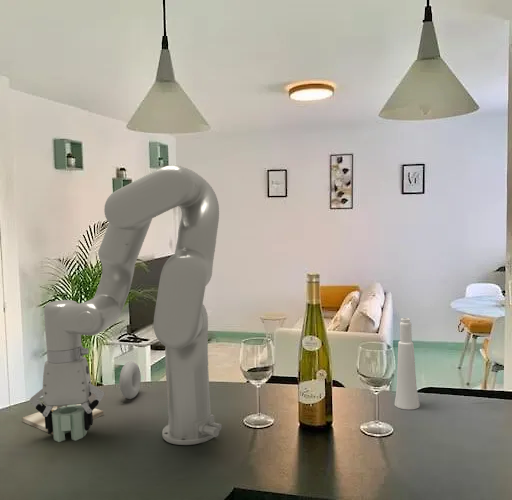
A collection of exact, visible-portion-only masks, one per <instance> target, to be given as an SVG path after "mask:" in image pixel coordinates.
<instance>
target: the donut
mask: <svg viewBox="0 0 512 500" xmlns="http://www.w3.org/2000/svg"><path fill="white" fill-rule="evenodd" d="M141 382H142V376H141V370H140V366H139V365H138V364H137V363H136V362H134V361H128V362H125V364H124V365H122V368H121V370H120V374H119V391H120V393H121V395H122V397H124V398H125V399H128V400H130V399H134V398H135V397H136V396H137V395H138V393H139V391H140V388H141Z"/></svg>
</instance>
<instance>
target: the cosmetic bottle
mask: <svg viewBox="0 0 512 500" xmlns="http://www.w3.org/2000/svg"><path fill="white" fill-rule="evenodd" d="M412 335H413V334H412V322H411V319H410V318H409V317H402V318H400V322H399V340H398V342H397V343H398V344H397V345H398V346H397V373H396V374H397V375H396V377H397V378H396V390H395V391H396V392H395V399H394V406H395V407H396V408H397V409H401V410H405V411H406V410H407V411H408V410H409V411H411V410H416V409H419V408H420V399H419V395H418V394H419V393H418V387H417V375H416V361H415V360H416V359H415V348H414V342H413V341H412V338H413V337H412Z"/></svg>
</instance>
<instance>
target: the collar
mask: <svg viewBox="0 0 512 500" xmlns="http://www.w3.org/2000/svg"><path fill="white" fill-rule="evenodd" d="M84 414H85V409H84V408H83V407H82V405H67V407H66V406H62V407H59V408H57V409H56V410H54V411H53V412H52V423H53V434H52V435H53V440H54V441H55V442H58V443H60V442H64V441H66V436H65V435H66V434H68V433H70V436H71V440H72V441H75V442H76V441H78V440H80V439H83V438H84V437H86V435H87V433H88V431H86V430H85V422H84Z"/></svg>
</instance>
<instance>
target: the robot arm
mask: <svg viewBox="0 0 512 500" xmlns="http://www.w3.org/2000/svg"><path fill="white" fill-rule="evenodd" d="M177 207H179V209H180V210H181V218H180V222H179V225H178V233H177V240H176V246H175V250H174V253H173V254H172V255H171V256H170V257H169V258H168V259H167V260H166V261H165V263H164V264H163V265H162V266H163V267H162V269H161V273H160V276H159V281H158V289H157V294H156V302H155V308H154V316H153V325H152V326H153V333H154V334H155V337H156V339H157V340H158V341H159V343H161V345H163V346H164V347H165V348H164V349H165V351H164V354H165V355H164V356H165V357H164V358H165V379H166V380H165V381H166V397H167V398H166V399H167V417H168V424H166V425H165V426H164V427H163V429H162V432H161V433H162V434H161V435H162V439H163V440H164V441H165V442H167V443H169V444H173V445H180V446H192V445H197V444H202V443H205V442H208V441H210V440H212V439H214V438H217V437H218V436H219V434H220V431H221V430H222V429H223V425H222V424H221V423H218V422H217V423H216V422H215V415H214V414H212V413H211V399H210V397H211V396H210V379H209V350H208V348H209V346H208V339H209V337H208V335H209V331H208V329H209V320H208V319H209V316H208V312H207V309H206V307H205V305H204V297H205V291H206V286H208V284H209V282H210V281H211V279H212V276H213V268H214V258H215V252H216V244H217V238H218V237H217V236H218V228H219V221H220V220H219V219H220V205H219V201H218V197H217V194H216V193H215V190H214V189H213V187H212V186H211V184H210V183H209V182H208V181H207V180H206V179H205V178H204V177H202V176H201V175H200V174H198V173H197V172H195V171H193V170H192V169H189V168H187V167H183V166H181V165H177V164H176V165H174V164H171V165H166V166H163V167H162V166H161V167H160V168H158V169H156V170H153V171H152V172H150V173H148V174H146V175H144V176H142V177H140V178H138V179H136V180H134V181H133V182H130V183H128V184H126V185H124V186H122V187H120V188H119V189H116V190H114V191H113V192H112V193H111V194H110V195H108V197H107V199H106V201H105V203H104V209H103V210H104V216H105V219H106V221H107V222H108V225H107V228H106V230H105V232H104V235H103V238H102V240H101V244H100V245H99V248H98V251H97V255H98V259H99V261H100V263H101V268H102V271H101V276H100V280H99V282H98V286H97V288H96V291H95V294H94V296H93V298H92V299H89V300H87V301H84V302H80V303H78V302H77V301H75V300H71V299H64V300H63V299H62V300H61V299H60V300H55V301H50V302H48V303H47V304H45V306H44V309H43V315H44V330H45V346H46V358H47V359H46V361H45V362H44V365H43V375H42V388H41V389H40V390H39V391H37V392H36V393H35V394H34V395H33V396H32V397H31V398H30V399H29V402H30V403H31V405H32V406H33V407H35V409H36V410H37V411H38V412H40V413H42V415H43V416H44V417H45V428H46V429H48V432H47V434H48V435H52V434H51V433H52V432H53V423H52V411H51V410H52V408H53V407H54V406H62V405H75V404H81V405H82V407H83V408H84V409H85V414H84V422H85V430H86V431H87V432H88V431H90V428H91V426H93V425H94V419H93V415H92V411H93V409H94V408H96V407H97V406H98V405H99V403H100V402H101V400H102V399H103V398H104V396H105V393H106V392H105V391H103V390H102V389H100V388H98V387H97V386H95V385H94V384H92V380H91V373H90V369H89V363H88V360H87V358H86V355H89V353H90V352H89V348H88V347H87V348H85V347H84V346H83V344H82V335H83V336H95V335H98V334H100V333H102V332H103V331H104V330H106V329H108V328H109V327H110V326H112V325H113V324H115V323H116V322H117V321H118V319H119V317H120V316H121V313H122V312H123V310H124V306H125V303H126V302H127V298H128V296H129V293H130V290H131V287H132V283H133V277H134V273H135V267H136V263H137V260H138V258H139V255H140V252H141V250H142V246H143V244H144V242H145V239H146V237H147V233H148V231H149V228H150V225H151V223H152V220H153V219H154V218H156V217H158V216H160V215H163V214H164V213H166V212H169V211H170V210H172V209H175V208H177ZM92 394H93V395H95V398H94V399H93V400H92V401H91V400H90V397H91V396H92ZM40 398H42V401H43V402H41V400H40Z"/></svg>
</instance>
